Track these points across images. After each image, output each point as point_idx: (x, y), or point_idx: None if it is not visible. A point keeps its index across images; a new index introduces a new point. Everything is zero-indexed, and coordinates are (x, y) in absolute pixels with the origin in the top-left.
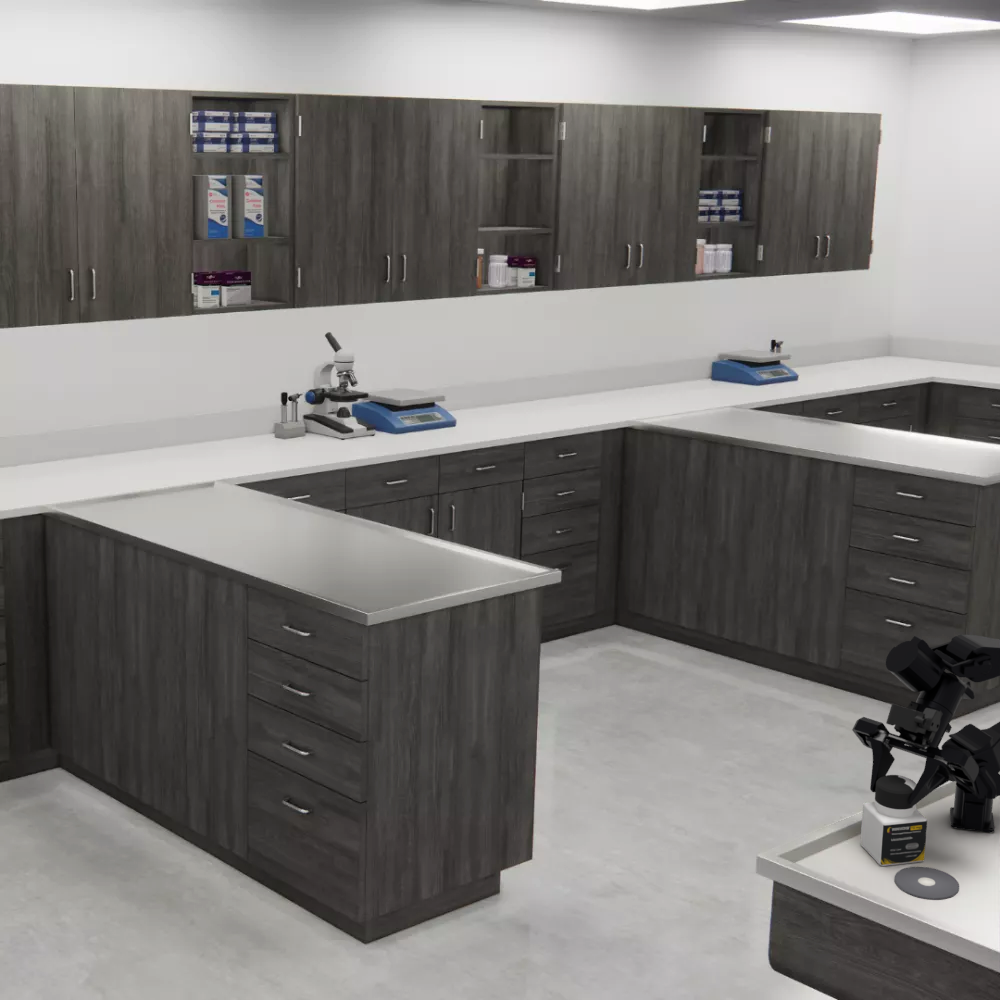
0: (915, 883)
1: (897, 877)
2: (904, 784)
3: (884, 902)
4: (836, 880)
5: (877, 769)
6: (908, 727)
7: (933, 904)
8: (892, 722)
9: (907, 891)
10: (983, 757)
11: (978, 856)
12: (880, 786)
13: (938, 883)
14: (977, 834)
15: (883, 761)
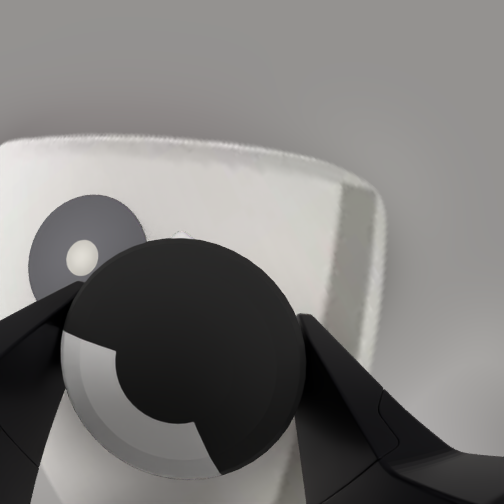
0: (99, 236)
1: (138, 237)
2: (109, 337)
3: (136, 146)
4: (244, 164)
5: (343, 386)
6: None
7: (59, 193)
8: None
9: (105, 196)
10: None
11: (49, 440)
12: (243, 262)
13: (61, 266)
14: None
15: (350, 473)
